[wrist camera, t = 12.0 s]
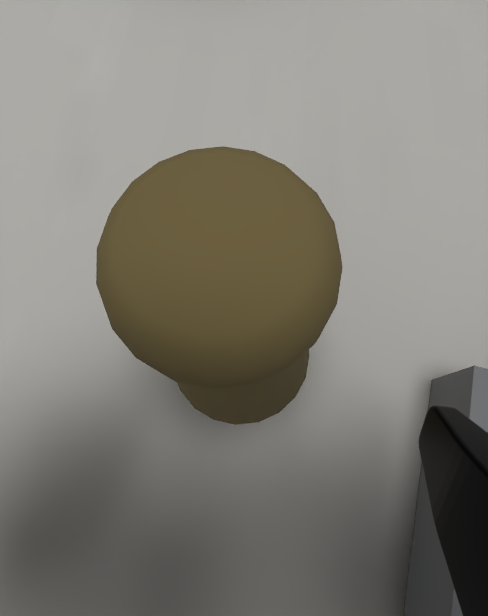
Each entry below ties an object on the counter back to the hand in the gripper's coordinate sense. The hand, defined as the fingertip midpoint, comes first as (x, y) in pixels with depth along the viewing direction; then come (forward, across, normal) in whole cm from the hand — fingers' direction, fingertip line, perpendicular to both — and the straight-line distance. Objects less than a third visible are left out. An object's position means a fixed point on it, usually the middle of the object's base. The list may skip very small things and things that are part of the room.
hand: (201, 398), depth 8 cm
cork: (+8, 0, +4) cm, 10 cm away
